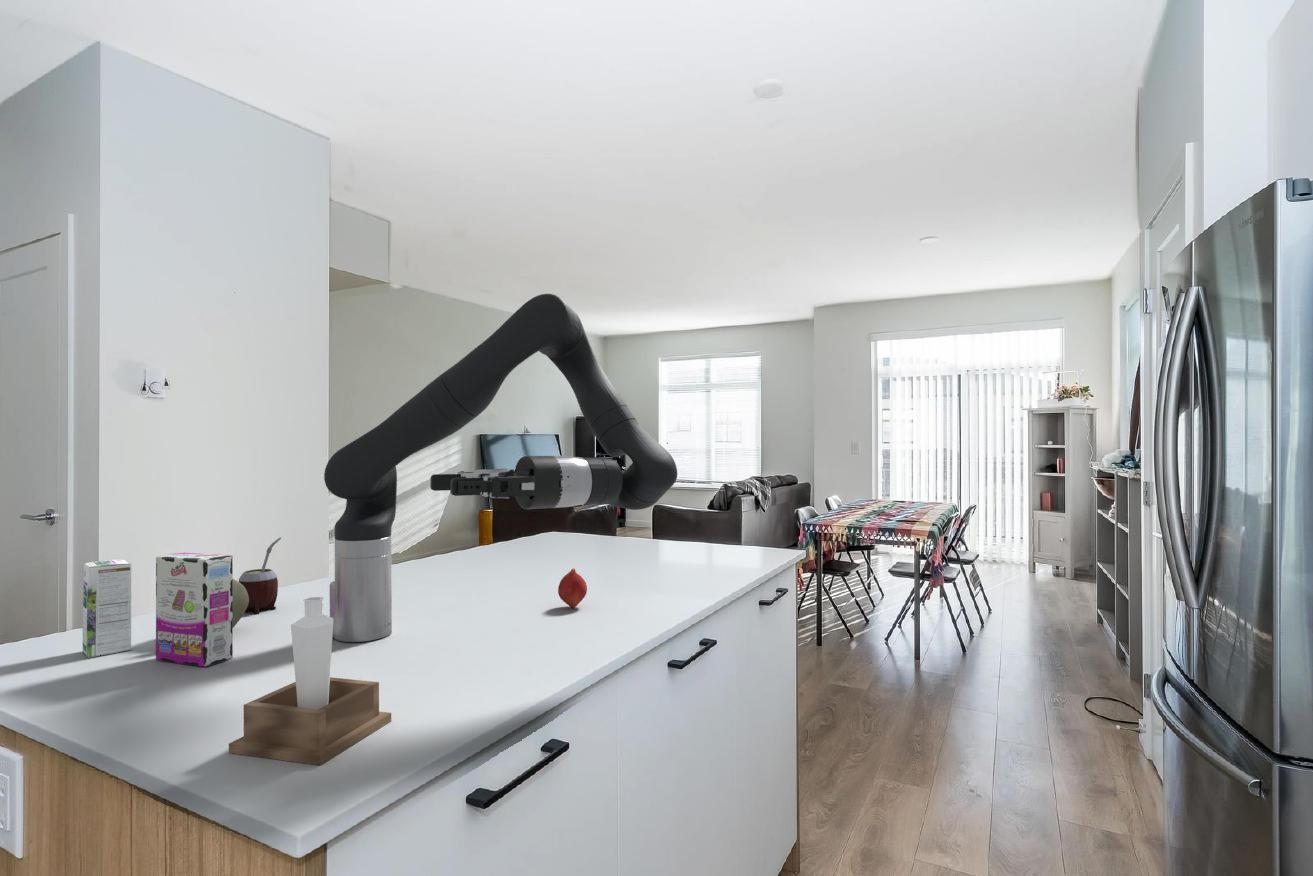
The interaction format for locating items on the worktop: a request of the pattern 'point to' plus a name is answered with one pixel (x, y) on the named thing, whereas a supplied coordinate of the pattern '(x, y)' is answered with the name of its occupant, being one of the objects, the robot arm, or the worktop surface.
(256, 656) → the worktop surface
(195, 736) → the worktop surface
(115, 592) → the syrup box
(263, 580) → the mate gourd
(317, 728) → the holder
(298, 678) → the perfume bottle
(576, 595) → the onion
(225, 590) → the candy bar box
